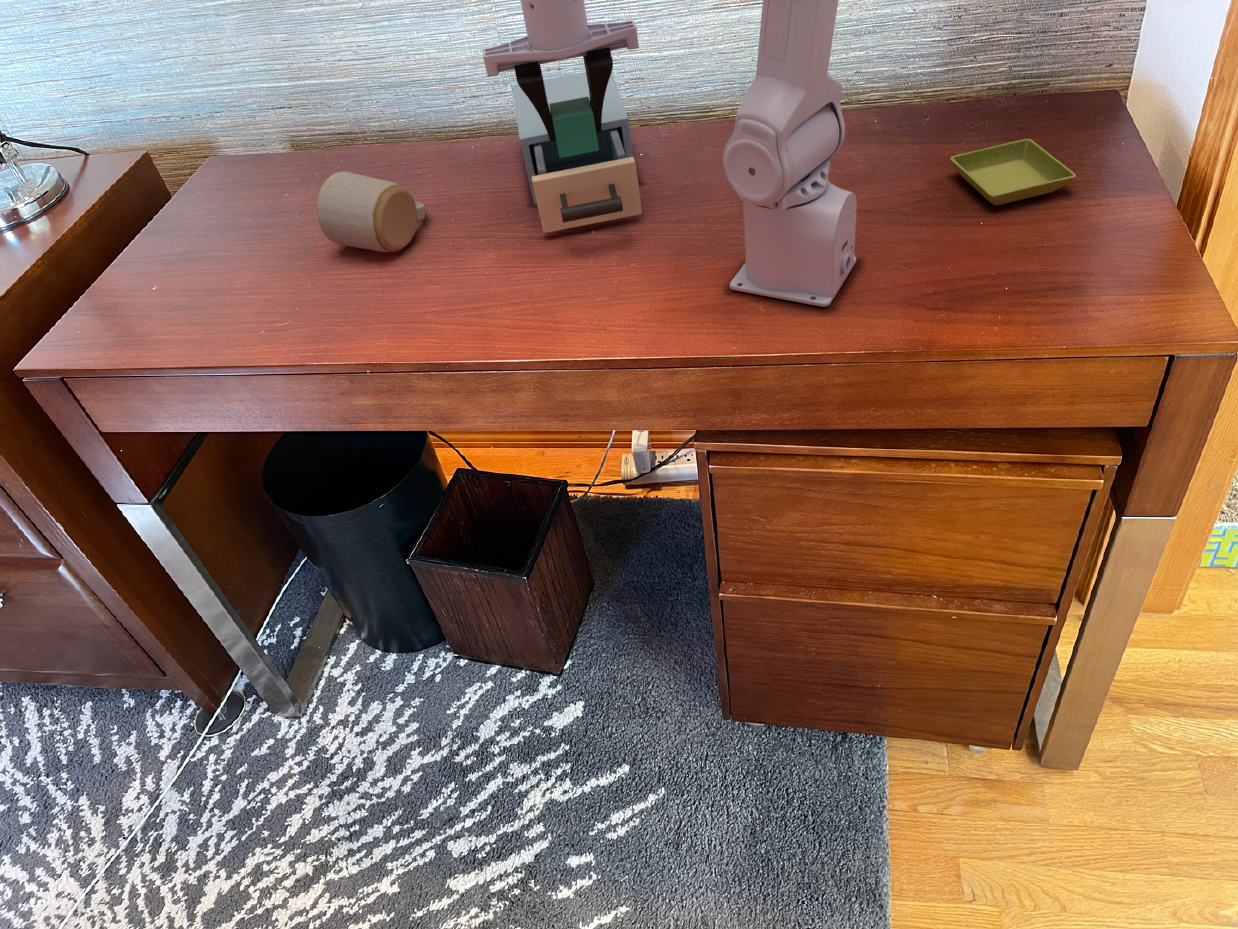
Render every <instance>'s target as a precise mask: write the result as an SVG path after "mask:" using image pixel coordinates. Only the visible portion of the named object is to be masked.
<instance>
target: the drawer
mask: <svg viewBox="0 0 1238 929" xmlns="http://www.w3.org/2000/svg"><path fill="white" fill-rule="evenodd" d="M596 135H597V141H598V147H599V151H595V152H590V153H585V154H580V155H574V156H569V157H564V158H560V157H559V152H558V147H557V142H556V141H553V142H550V141H545V142H540V143H535V144H533V145H534V151H535V157H536V163H537V169H538V174H539V175H537V176H532V183H533V187H534V192H535V196H536V201H537V204H536V205H537V206H536V207H537V210H538V214H539V219H540V223H541V228H542V232H543V234H547V233H551V232H557V231H561V230H567V229H571V228H577V227H582V226H587V225H593V224H597V223H603V222H608V221H612V220H618V219H622V218H628V217H633V216H638V215H642V214H643V211H642V203H641V194H640V188H639V180H638V172H637V163H636V159H635V157H634V156H633V157H629V158H626V157H625V153H624V149H623V146H622V143H621V140H620V137H619V134H618V131H617V128H612V129H606V130H602V132H599V133H596Z"/></svg>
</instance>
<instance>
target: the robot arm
mask: <svg viewBox="0 0 1238 929" xmlns="http://www.w3.org/2000/svg"><path fill="white" fill-rule="evenodd" d="M761 5H762V6H761V16H760V17H761V18H760V27H759V28H760V29H759V39H758V41H759V42H758V49H757V61H756V71H755V77H754V78H753V81H752V83H751V85H750V87H749V89H748V90H747V92H746V94H745V95H744V98H743V99H742V101H741V103H740V105H739V107H738V109H737V111H736V113H735V122H734V129H733V133H732V134H731V136H730V138H729V139H728V141H727V142H726V144H725V146H724V149H723V153H722V166H723V172H724V174H725V177H726V179H727V181H728V183H729V185H730V186H731V188H732V189H733V191H734V192H735V193H736V194H737V195H738V199H739V200H741V201H742V209H743V210H742V211H743V233H744V234H743V235H744V258H745V262H744V263H743V265H742V266H741V268H740V269H739V270H738V271H737V273H736V274H735V275H734V277H733V278H732V280H730V282H729V289H731V290H732V291H737V292H743V293H748V294H753V295H759V296H764V297H769V298H774V299H778V300H779V299H780V300H783V301H791V302H796V303H801V304H805V305H806V304H807V305H811V306H816V307H822V308H826V307H829V306H830V305H831V304H832V302H833V300H834V299H835V297H836V295H837V294H838V292H839V290H840V289H841V287H842V286H843V284H844V282H845V281H846V279H847V277H848V275H849V274H850V272H851V271H852V270H853V267H854V266H855V264H856V262H857V257H856V255H855V248H856V232H857V231H856V230H857V229H856V228H857V214H858V212H857V211H858V203H857V196H856V194H855V193H854V192H852V191H850V190H846V189H843V188H841V187H838V186H837V185H835V184H833V183H832V182H830V181H829V173H830V172H831V158H832V157H835V155H836V154H837V153H838V152H839V151H840V150H841V147H842V146H843V143H844V141H845V134H846V124H845V119H844V115H843V112H842V107H841V106H842V105H841V97H842V91H843V84H842V83H841V82H840V81H839V80H838V79H837V78H836V77H835V76H833V75H832V74H831V73H830V72H829V66H830V65H829V64H830V59H831V51H832V46H833V38H834V33H835V32H834V31H835V25H836V19H837V14H838V8H839V7H838V6H839V0H762V4H761ZM520 6H521V10H522V15H523V20H524V26H525V31H526V35H527V36H524V37H521V38H517V39H513V40H511V41H509V42H505V43H503V44H499V45H496V46H492V47H487V48H483V49H482V58H483V62H484V67H485V71H486V75H487V77H488V78H491V77H496V76H499V75H500V73H503V72H508V71H514V73H515V79H516V82H517V85H519V86H520V88H521V89H522V91H523V92H524V93H525V94H526V96H527V97H528V98H529V100H530V101H531V103H532V104H533V106H534V107H535V109H536V110H537V112H538V114H539V116H540V118H541V120H542V122H543V124H544V126H545V128H546V130H547V133H548V136H549V140H550V142H553V141H556V136H555V131H554V126H553V121H552V116H551V112H550V109H549V105H548V102H547V97H546V92H545V86H544V81H543V80H544V77H543V72H542V67H541V65H544V64H549V63H554V62H559V61H565V60H570V59H575V58H580V57H582V58H583V63H584V69H585V72H586V76H587V81H588V87H589V96H590V104H591V108H592V111H593V116H594V122H595V128H596V133H599V132H602V109H603V102H604V97H605V92H606V88H607V85H608V82H609V79H610V76H611V73H612V74H613V68H614V60H613V57H612V52H611V51H615V50H621V49H622V50H623V49H627V50H630V51H631V50H635V49H639V48H640V47H639V46H640V45H639V37H638V36H639V35H638V28H637V25H636V23H635V21H634V20H633V19H631V20H625V21H619V22H607V23H593V24H590V23H589V24H588V17H587V11H586V4H585V0H520Z"/></svg>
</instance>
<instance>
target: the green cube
mask: <svg viewBox="0 0 1238 929" xmlns="http://www.w3.org/2000/svg"><path fill="white" fill-rule="evenodd" d="M549 106H550V111H551V116H552V121H553V126H554V131H555V136H556V142H557V147H558V152H559V157H560V158H564V157H569V156H574V155H580V154H585V153H590V152H595V151H599V147H598V141H597V135H596V128H595V122H594V116H593V111H592V108H591V104H590V101H589V97H582V98H577V99H572V100H567V101H562V102H557V103H551V104H549Z"/></svg>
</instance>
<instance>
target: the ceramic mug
mask: <svg viewBox="0 0 1238 929" xmlns="http://www.w3.org/2000/svg"><path fill="white" fill-rule="evenodd" d="M316 216H317V221H318V223H319V224H318V225H319V228H320V229H321V231H322V232H323V234H324V236H325V237H326V238H327V239H328V240H329V241H331V242H332V243H334V244H337V245H339V246H346V247H352V248H357V249H363V250H370V251H375V252H380V253H381V252H382V253H394V252H395V253H396V252H399V251H401V250H403V249H404V248H405V247H407V246H408V244H409V243H410V242H411V240H412V239H413V237H414V235H415V233H416V230H417V225H418V223H419V222H421V221H424V220H425V218H426V207H425V204H423V203H421V202H419V201H418V202H417V201H415V199H414V197H413V195H412V193H411V192H410V191H409V190H408V189H407V188H406V187H404V186H403V185H400V184H397V183H395V182H393V181H389V180H385V179H380V178H375V177H370V176H368V175H363V174H359V173H354V172H351V171H344V170H343V171H337V172H335V173H333V174H331V175H330V176H328V177H327V178H326V179H325V181H324V182H323V183H322V186H321V187H320V190H319V192H318V195H317V201H316Z"/></svg>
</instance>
